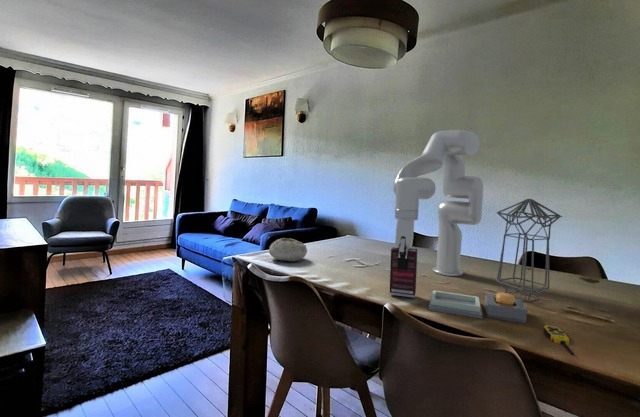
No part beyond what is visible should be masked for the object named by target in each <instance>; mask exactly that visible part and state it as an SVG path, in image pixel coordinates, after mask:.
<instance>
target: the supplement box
mask: <svg viewBox="0 0 640 417" xmlns="http://www.w3.org/2000/svg"><path fill="white" fill-rule="evenodd" d="M404 249H407V248H404ZM404 252H405V254H406V251H404ZM398 257H399V247H398V248H397V249H396V248H395V246H393V247H391V249H390V270H389V271H390V273H389V295H390V296H391V295H392V296H399V297H404V298H405V297H406V298H407V297H408V298H413V299H414V298H416V290H417V273H418V272H417V270H418V269H417V268H418V248H412V247H411V248H410V249H409V250H408V255H407V258H408V269H407V271H406V270H398Z"/></svg>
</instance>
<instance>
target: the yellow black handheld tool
mask: <svg viewBox="0 0 640 417" xmlns="http://www.w3.org/2000/svg"><path fill="white" fill-rule="evenodd" d="M543 334H544V335H545V337H546V338H548V339H549V340H551V342H553V341H554V343H555V344H557V343H558V345H561V346H563V347H564V348H566V350H567V351H568V353H570V354H571V355H572V356H573V355H575V353H574V352H573V350H572V349H571V348H570V347H569V345H570V337H569V334H568V333H566V332H565V331H564V330H561V329H560V328H559V327H557V326H554V325H548V324H546V325H544V327H543Z"/></svg>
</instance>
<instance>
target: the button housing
mask: <svg viewBox="0 0 640 417" xmlns="http://www.w3.org/2000/svg"><path fill="white" fill-rule="evenodd" d="M484 296H485V297H484V310H485V314H486V318H490V319H495V320H501V321H506V322H507V321H508V322H514V323H519V324H527V318H528V317H527V316H528V315H527V314H528V309H527V307H526V306H525V303H524V301H523V300H521V299H522V298H520V299H517V298H515V303H514V306H512V305H505V304H499V303H496V294H495V295H494V294H493V295H492V294H487V293H485V295H484Z"/></svg>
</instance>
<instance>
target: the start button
mask: <svg viewBox="0 0 640 417" xmlns="http://www.w3.org/2000/svg"><path fill="white" fill-rule="evenodd" d="M495 296H496V303H499V304H505V305H512V306H514V303H515V297H516V296H515V295H513V293H505V292H496V294H495Z"/></svg>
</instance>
